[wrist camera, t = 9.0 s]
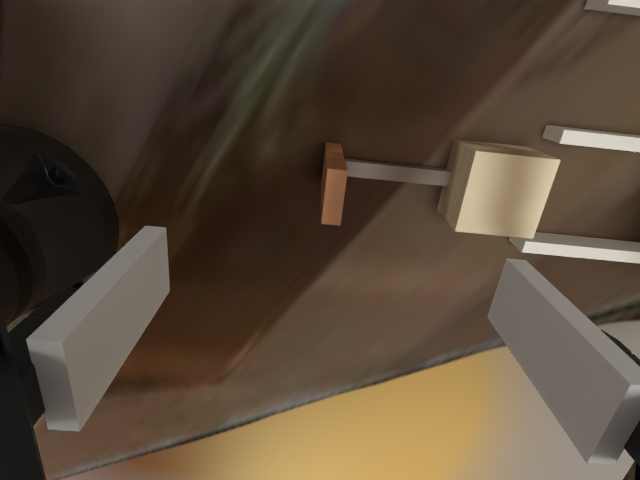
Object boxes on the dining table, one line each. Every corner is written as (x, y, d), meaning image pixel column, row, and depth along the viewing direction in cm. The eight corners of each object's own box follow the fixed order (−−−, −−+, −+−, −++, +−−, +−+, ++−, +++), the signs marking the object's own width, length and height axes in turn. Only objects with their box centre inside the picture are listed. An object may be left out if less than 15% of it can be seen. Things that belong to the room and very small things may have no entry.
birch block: (319, 197, 34) (319, 241, 25) (327, 125, 31) (329, 147, 23) (504, 215, 34) (565, 265, 26) (526, 146, 32) (601, 175, 23)
